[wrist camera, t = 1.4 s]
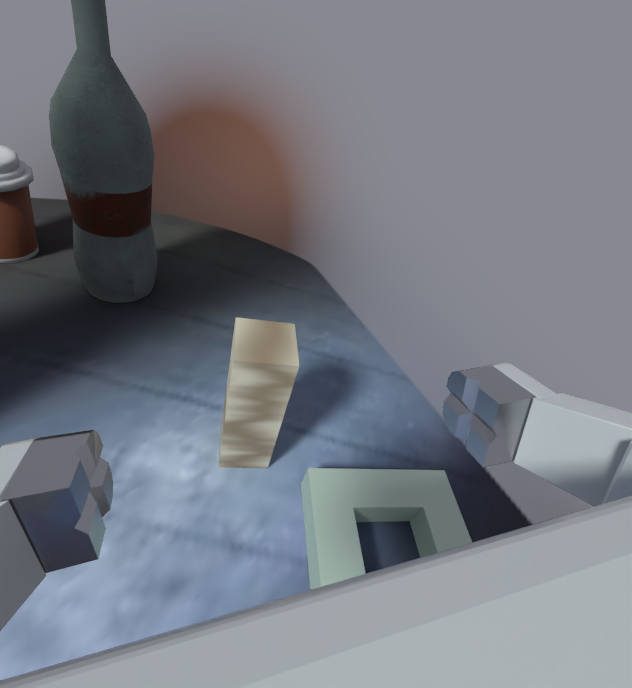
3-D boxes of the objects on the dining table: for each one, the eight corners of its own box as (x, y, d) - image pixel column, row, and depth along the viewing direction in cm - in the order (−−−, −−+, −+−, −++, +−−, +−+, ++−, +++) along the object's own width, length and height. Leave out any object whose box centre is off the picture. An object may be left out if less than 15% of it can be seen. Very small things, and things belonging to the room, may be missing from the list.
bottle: (79, 264, 50) (17, -56, 31) (154, 263, 54) (141, -20, 35) (80, 309, 45) (5, -49, 25) (163, 304, 49) (155, -7, 29)
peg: (218, 467, 35) (233, 360, 25) (221, 425, 38) (235, 317, 29) (267, 468, 36) (299, 365, 27) (266, 427, 39) (294, 323, 30)
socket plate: (318, 676, 26) (329, 668, 24) (300, 484, 35) (308, 468, 33) (489, 655, 29) (512, 647, 27) (430, 485, 39) (444, 470, 37)
